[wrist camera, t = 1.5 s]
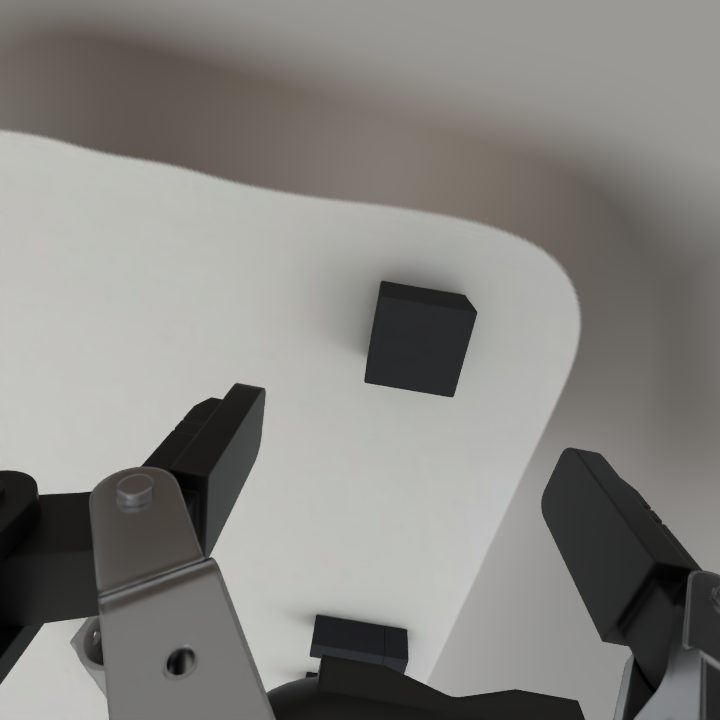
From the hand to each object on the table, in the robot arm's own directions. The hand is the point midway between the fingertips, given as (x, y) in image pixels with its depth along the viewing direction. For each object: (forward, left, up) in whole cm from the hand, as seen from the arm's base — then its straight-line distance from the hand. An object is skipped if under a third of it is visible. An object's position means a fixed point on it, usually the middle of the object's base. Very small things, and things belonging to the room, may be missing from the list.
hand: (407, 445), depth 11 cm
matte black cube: (0, +2, -14) cm, 15 cm away
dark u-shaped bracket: (+26, +21, -14) cm, 36 cm away
